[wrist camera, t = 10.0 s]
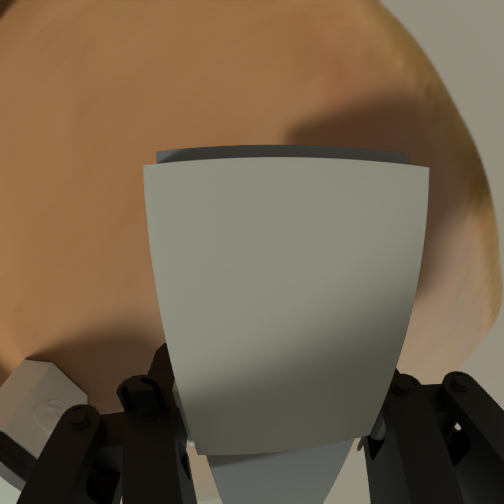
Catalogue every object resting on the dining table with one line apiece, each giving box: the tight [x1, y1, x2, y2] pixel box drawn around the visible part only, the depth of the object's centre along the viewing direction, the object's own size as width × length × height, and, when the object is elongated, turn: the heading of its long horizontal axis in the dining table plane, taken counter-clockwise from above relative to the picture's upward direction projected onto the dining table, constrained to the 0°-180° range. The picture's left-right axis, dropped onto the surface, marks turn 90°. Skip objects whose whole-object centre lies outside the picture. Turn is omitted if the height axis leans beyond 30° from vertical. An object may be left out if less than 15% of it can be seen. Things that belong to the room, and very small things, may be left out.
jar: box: [0, 360, 88, 491], centre depth 14 cm, size 9×8×12 cm
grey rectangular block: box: [143, 145, 429, 504], centre depth 9 cm, size 14×4×8 cm, turn 2°
